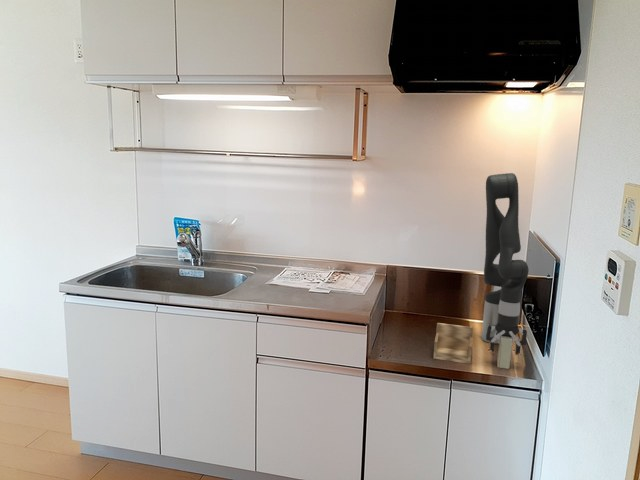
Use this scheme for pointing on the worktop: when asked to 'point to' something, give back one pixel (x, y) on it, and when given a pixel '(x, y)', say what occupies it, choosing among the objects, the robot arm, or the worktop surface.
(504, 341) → the skincare box
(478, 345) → the worktop surface
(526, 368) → the worktop surface
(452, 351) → the caddy
